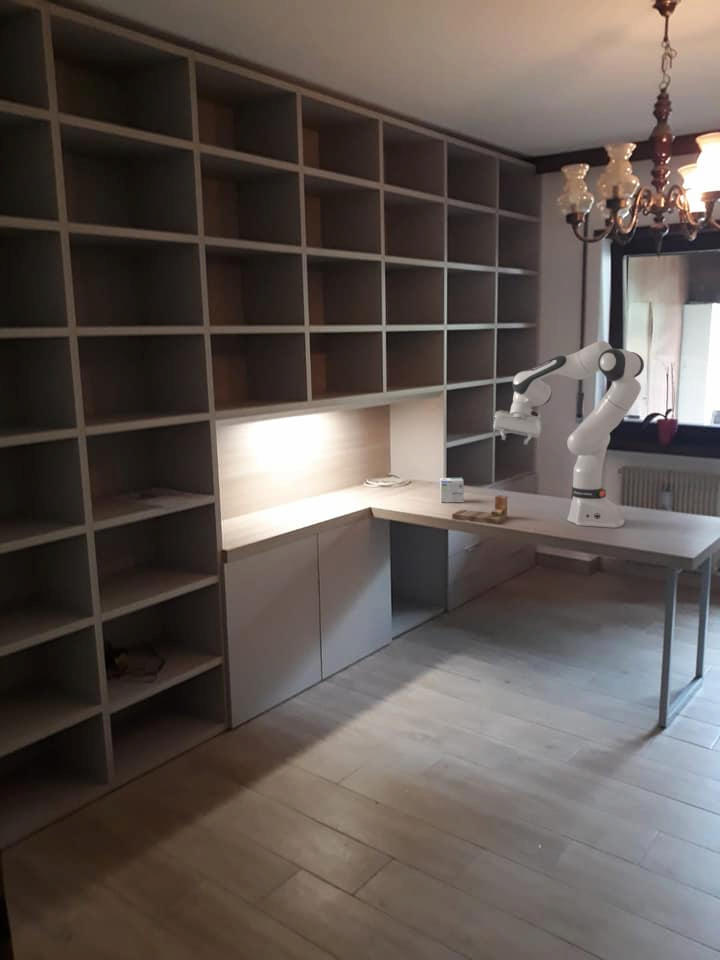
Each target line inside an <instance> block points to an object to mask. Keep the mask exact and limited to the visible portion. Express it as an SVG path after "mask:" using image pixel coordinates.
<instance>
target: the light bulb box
mask: <svg viewBox="0 0 720 960" xmlns="http://www.w3.org/2000/svg"><path fill="white" fill-rule="evenodd" d="M464 485H465V483H464V479H463V477H440V478H439V497H440V498H439V501H441V502H440V504H443V503H442V502H463V503H464V490H465V488H464V487H465V486H464Z"/></svg>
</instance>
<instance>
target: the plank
mask: <svg viewBox="0 0 720 960" xmlns="http://www.w3.org/2000/svg"><path fill="white" fill-rule="evenodd" d="M451 519H452V520H458V521H465V520H469V521H468V522H474V521H476V523H482V522H485V523H484V524H491V523H493V524H492V525H499V524H500V522H501V521H502V522H504V521H505V520H506V519H507V517H506V514H501V515H499V516H493V515H491V512H487V511H477V510H468V509H459V510H457V511H455V512H454V513H452V514H451ZM504 519H505V520H504ZM503 520H504V521H503ZM502 522H501V523H502Z"/></svg>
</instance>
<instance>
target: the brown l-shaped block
mask: <svg viewBox="0 0 720 960" xmlns="http://www.w3.org/2000/svg"><path fill="white" fill-rule="evenodd" d="M494 502H495V503H494V509H493V510H492V511H491V512H490V513H491V515H493V516H499V515H501V514H506V516H508V495H500V494H497V495H496V496H495V497H494Z"/></svg>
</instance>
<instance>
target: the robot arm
mask: <svg viewBox="0 0 720 960" xmlns="http://www.w3.org/2000/svg"><path fill="white" fill-rule="evenodd" d="M644 367H645V362H644V360H643V358H642V356H641V355H639V354H638V353H637V352H633V351H629V350H627V349H621V348H613V347H612V346H611V344H610V343H609V342H607V341H605V340H598V341H596V342H594V343H593V342H592V343H591V344H589V345H587V346H585V347H583V348H582V349H580V350H578V351H577V352H574V353H570V354H568V355H558V356H555V357H553V358H552V357H551V358H550V359H548V360H546V361H544V362H542V363H540V364H538V365H535V366H534V367H532V368H529V369H523V370H522V371H519V372H517V373H516V374H515V375H514V377H513V379H512V389H513V397H512V404H511V406H510V410H509V411H508V410H502V409H499V410H497V411H495V414H494V418H495V419H494V422H493V429H494V430H495V431H500V432H499V433H500V435H501V440H502V441H506V438H507V435H506V434H505V433H510V434H515V435H521V436H525V437H526V438H524V441H523V445H527V446H528V443H529V441H530V440H531V439H532V438H536V439H538V438H540V437H541V434H542V433H541V432H542V421H541V419H542V414H541V413H540V412H538V411H536V410H534V409H533V407H535V408H537V407H540V406H544V405H547V404H548V403H549V402H550V401H551V399H552V395H553V388H552V387H551V386H550V385H548V384H547V383H546V382H544V380H542V379H544V378H546V377H548V376H550V375H561V376H565V377H567V378H570V379H574V380H581V381H582V380H584V379H587V378H589V377H591V376H592V375H594V374H596V373H598V372H599V371H600V372H601V373H602V374H603V375H604V377H605V379H606V380H607V381H609V382H611V386H610V387H609V389H608V390H607V392H605V394H604V395H603V397H602V398H601V400H600V401H599V402H598V404H597V405H596V406H595V408H594V409H593V410H592V411H591V413H589V415H588V416H587V417H586V418H585V419H584V420H583V421H582V422H581V423H580V424H579V426H578V427H577V428H576V429H575V430H574V431H573V432H572V433H571V434H569V436H568V438H567V442H566V444H567V445H566V446H567V448H568V450H569V451H570V452H571V454H573V455H577V460H576V462H575V464H574V467H573V476H572V477H573V478H572V479H573V480H572V486H571V491H570V499H571V502H570V508H569V513H568V516H567V517H566V518H567V521H568V522H569V523H573V524H575V525H577V526H583V527H584V526H585V527H599V528H614V529H616V528H621V527H622V526H624V525H625V519H624V518H621V517H620V513H619V509H618V506H616V505H615V504H614V503H613V502H612V501H611V500H609V499H608V498H607V497H606V495H607V494H606V493H607V489H606V488H605V489H604V488H602V475H603V473H602V471H603V466H604V461H605V458H606V454H607V450H608V449H607V448H608V446H609V444H610V441H611V434H610V433H611V432H612V431H613V430H615V428H617V427H618V426H619V424H620V423H621V422H622V420H623V419H624V418H625V416H626V415H627V414H628V413H629V411H630V410H631V408H632V407H633V405H634V404H635V402H636V400H638V397H639V394H640V393H641V389H642V386H641V384H640V382H639V381H638V379H636V377H639V376H640V375H641V374H642V373H643V370H644Z"/></svg>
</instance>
